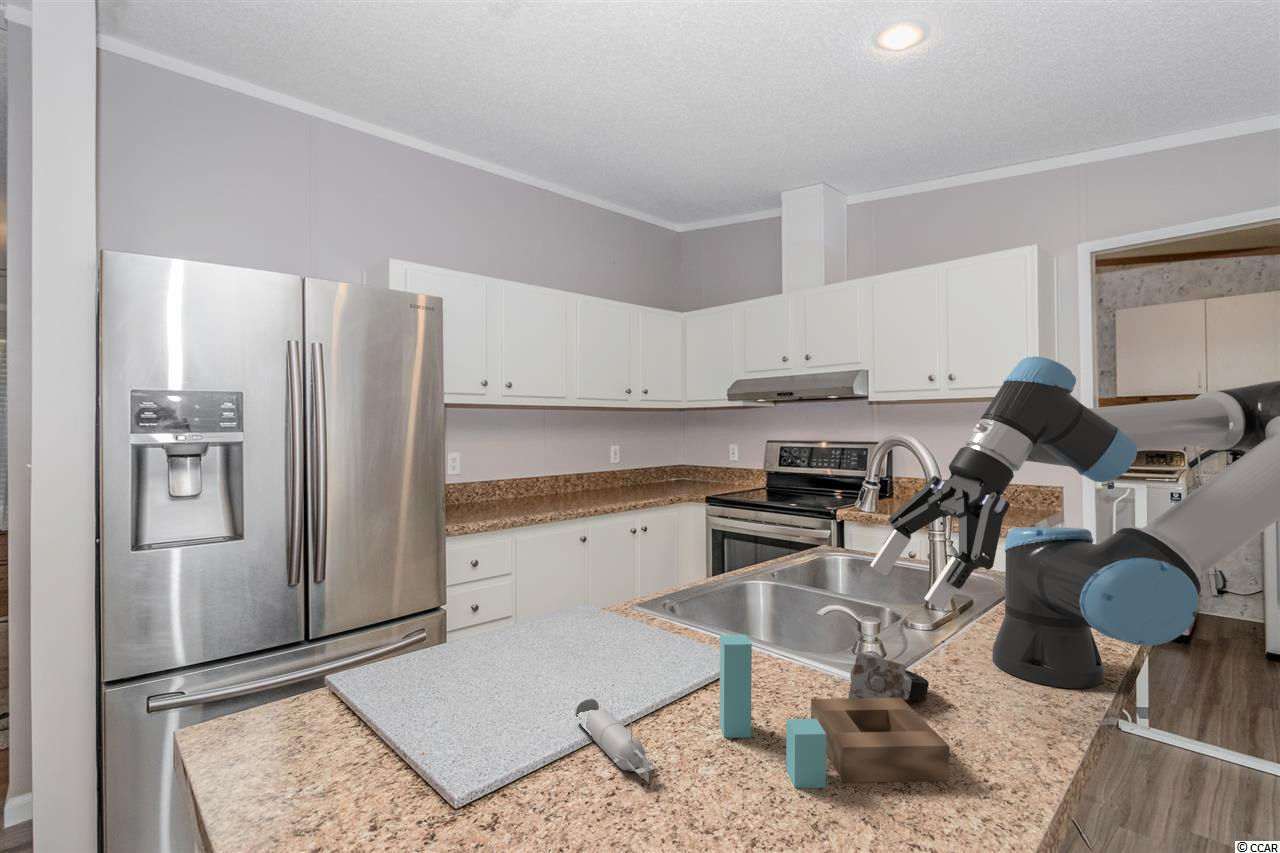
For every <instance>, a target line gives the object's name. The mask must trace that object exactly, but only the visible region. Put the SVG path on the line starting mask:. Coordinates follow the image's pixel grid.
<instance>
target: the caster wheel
mask: <svg viewBox="0 0 1280 853" xmlns="http://www.w3.org/2000/svg"><path fill="white" fill-rule="evenodd" d="M850 670H851V671H850V686H849V691H848V696H847V697H848V698H902V699H903V700H904V701H908V700H912V701H919V702H920V701H922V702H923V701H925V700H927V699H926V698H927V695H928V691H929V690H928V689H929V686H930V685H929V684H930V682H929V680H927V679H926V678H924V677H923V676H921V675H919V674H918V673H914V672H913V671H909V670H907V666H906V665H905V664H902V663H899V662H896V661H892V660H888V659H885V658H883V657H882V655H880V653H879V652H876V651H873V650H868V651H864V652H860V651H859V652H857V653H856V658H855V661H854V663H853V665H852V667H851V669H850Z"/></svg>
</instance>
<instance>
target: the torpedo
mask: <svg viewBox="0 0 1280 853" xmlns="http://www.w3.org/2000/svg"><path fill="white" fill-rule="evenodd" d="M589 710H595V711H594V712H592V713H591V714H590V715H589V716H588V718H587V722H586V728H587V729H588V730H589V731H590V733H591V735H592V737H591V739H592V738H593V739H592V740H593V741H594V742H595V743H596V744H597V745H598V746H599V747H600V748H601V749H602V751H604V753H606V755H608V756H609V758H610V759H611V760H612V761H613V763H615V765H617V767H619V768H620V769H621V770H622V771H626V772H627V771H629V772H634V773H637V775H638V776H639V777H640V778H643V779H644V780H645V781H646V782H647V783H649V780H650V779H649V778H650V774H649V772H650V771H652V770H655V769H656V768H655V766H654V765H653V764H652V762H651V761H649V759H648V758H647V757H646V754H649V753H651V751H650V750H649V749H648V750H646V749H645V748H644V747H643V744H642V742H641V741H640V740H639V739H638V738H637V737H636V736H635V735H634V734H633V716H634V715H633V714H632V715H630V716H629V717H630V730H628V729H627V728H626V727H625V726H624V725H623V724H622V722H620V721H619V720H618V718H616V717H615V716H614V715H613V714H612V713H611V712H610V711H608V710H607V709H606V708H600V705H599V702H598V701H597V700H596V699H595V698H591V697H585V698H583V699H582V698H581V699H580V700H578V702H577V703H576V704H575V707H574V717H575V716H576V717H578V715H577V714H579V713H580V712H585V711H589ZM579 718H580V717H579Z"/></svg>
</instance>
